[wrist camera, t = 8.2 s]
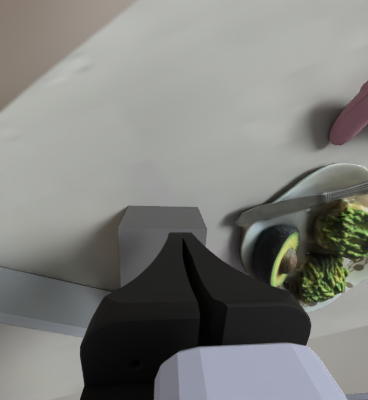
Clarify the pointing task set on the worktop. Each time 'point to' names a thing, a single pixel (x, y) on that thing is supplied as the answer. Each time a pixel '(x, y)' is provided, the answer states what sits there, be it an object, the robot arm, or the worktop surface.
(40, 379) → the worktop surface
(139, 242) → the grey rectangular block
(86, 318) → the side door
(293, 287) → the salad plate
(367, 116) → the video game controller
